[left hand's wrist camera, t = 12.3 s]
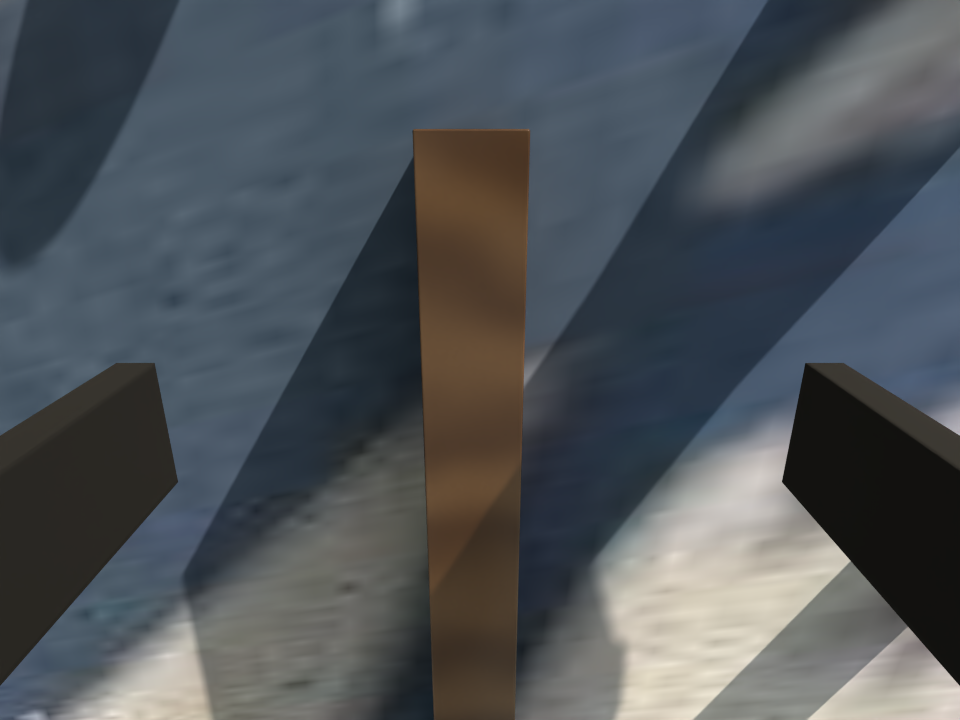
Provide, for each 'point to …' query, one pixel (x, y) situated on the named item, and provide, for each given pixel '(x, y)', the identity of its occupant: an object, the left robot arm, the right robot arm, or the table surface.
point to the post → (472, 406)
